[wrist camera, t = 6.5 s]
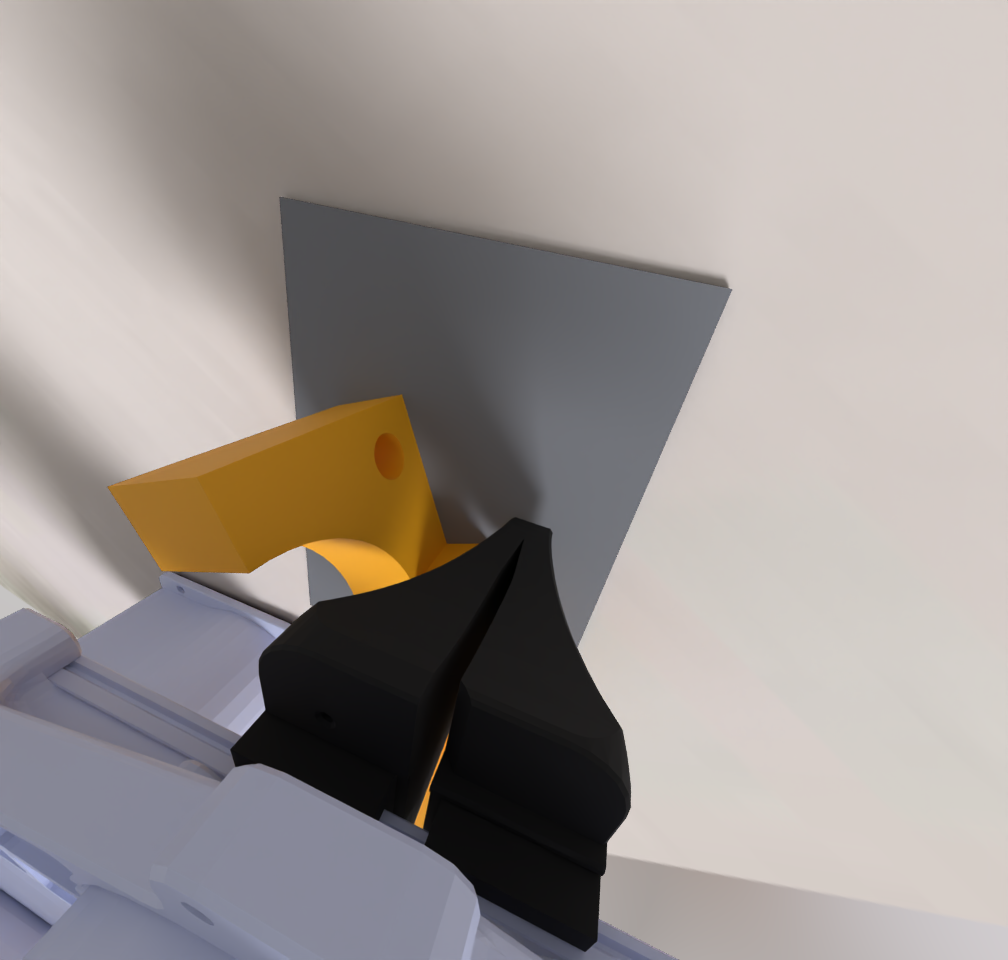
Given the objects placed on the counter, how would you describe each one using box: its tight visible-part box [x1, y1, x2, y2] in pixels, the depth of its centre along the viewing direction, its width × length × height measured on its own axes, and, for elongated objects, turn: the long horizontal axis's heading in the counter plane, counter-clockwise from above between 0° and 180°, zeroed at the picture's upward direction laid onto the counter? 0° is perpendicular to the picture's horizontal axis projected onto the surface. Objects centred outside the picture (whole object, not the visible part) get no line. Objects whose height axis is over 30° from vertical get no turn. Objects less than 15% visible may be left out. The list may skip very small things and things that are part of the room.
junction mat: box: [280, 197, 732, 647], centre depth 13 cm, size 12×16×1 cm
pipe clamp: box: [108, 395, 478, 829], centre depth 11 cm, size 12×4×6 cm, turn 12°
